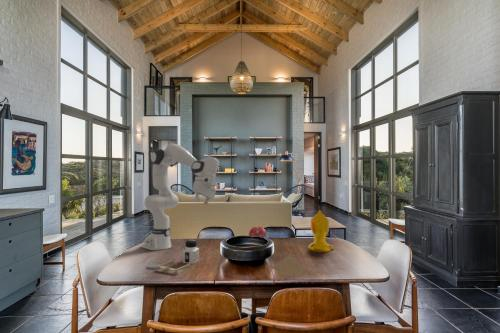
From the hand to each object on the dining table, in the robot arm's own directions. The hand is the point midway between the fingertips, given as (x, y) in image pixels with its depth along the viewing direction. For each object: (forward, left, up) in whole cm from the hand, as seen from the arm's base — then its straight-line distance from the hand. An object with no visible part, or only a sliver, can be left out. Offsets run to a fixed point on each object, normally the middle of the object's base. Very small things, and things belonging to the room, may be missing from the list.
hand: (201, 203), depth 175 cm
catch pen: (-8, -14, -37) cm, 40 cm away
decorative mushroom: (+14, +54, -37) cm, 67 cm away
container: (-8, +1, -37) cm, 38 cm away
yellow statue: (+59, +67, -37) cm, 96 cm away
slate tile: (-21, -17, -37) cm, 46 cm away
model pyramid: (+52, +12, -37) cm, 65 cm away
